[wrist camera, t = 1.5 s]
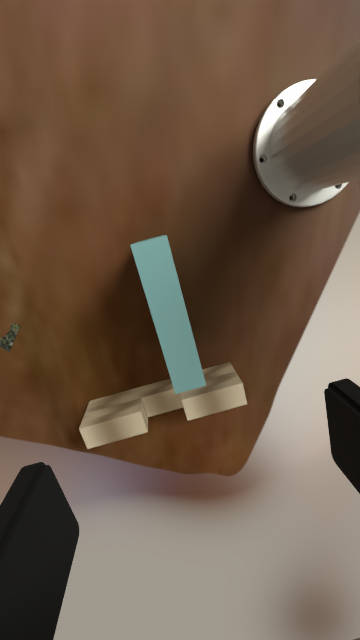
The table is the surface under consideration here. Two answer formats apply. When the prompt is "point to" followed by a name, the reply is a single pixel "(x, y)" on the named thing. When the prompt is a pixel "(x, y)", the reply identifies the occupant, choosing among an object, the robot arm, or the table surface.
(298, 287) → the table surface
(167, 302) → the cross plate
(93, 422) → the slotted board
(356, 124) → the robot arm
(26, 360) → the table surface
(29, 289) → the table surface
